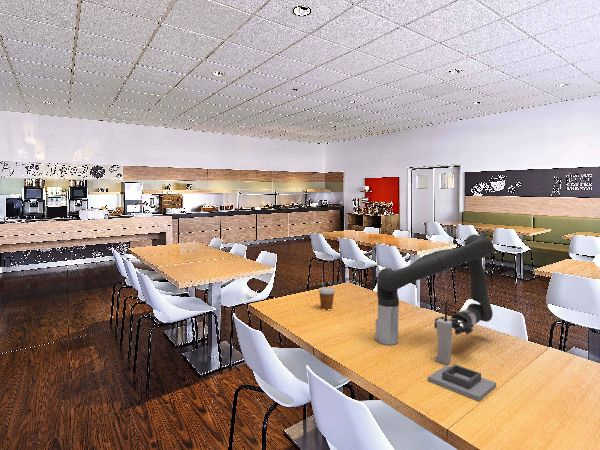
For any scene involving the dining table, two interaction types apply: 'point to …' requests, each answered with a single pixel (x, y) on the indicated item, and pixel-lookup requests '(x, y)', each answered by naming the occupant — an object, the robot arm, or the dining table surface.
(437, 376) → the dock board
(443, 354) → the vintage mobile phone
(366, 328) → the dining table surface
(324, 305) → the disposable coffee cup
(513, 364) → the dining table surface
